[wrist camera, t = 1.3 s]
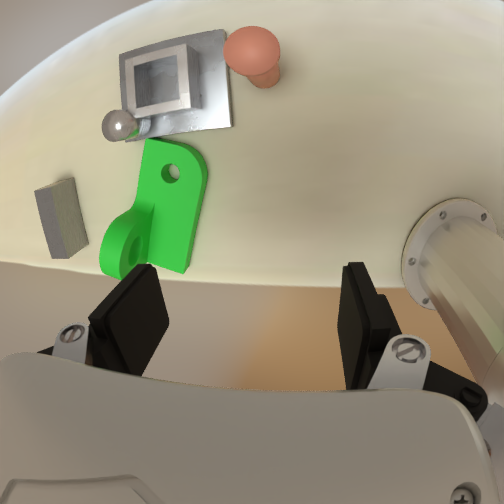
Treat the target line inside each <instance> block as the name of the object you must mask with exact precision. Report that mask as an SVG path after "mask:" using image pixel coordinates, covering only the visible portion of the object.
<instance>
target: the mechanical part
mask: <svg viewBox="0 0 504 504" xmlns="http://www.w3.org/2000/svg"><path fill="white" fill-rule="evenodd" d="M170 164H174V165H176V166H177V167H178V169H179V172H180V176H179V179H178V180H176V179H174V178H172V177H171V176H170V174H169V166H170ZM207 177H208V172H207V167H206V163H205V161H204V159H203V157H202V156H201V154H200V153H199V152H198V151H197V150H196V149H194V148H193V147H191V146H190V145H187V144H184V143H180V142H175V141H171V140H166V139H161V138H157V137H152V138H146V141H145V146H144V151H143V157H142V162H141V168H140V175H139V181H138V188H137V195H136V199H135V202H134V204H133V206H132V207H131V209H130V210H128V211H126V212H125V213H123V214H122V215H120V216H119V217H117V218H116V219H115V220H114V221H113V222H112V223H111V224H110V226H109V228H108V229H107V231H106V233H105V235H104V238H103V241H102V244H101V248H100V255H99V262H100V267H101V270H102V272H103V273H104V274H106V275H109V276H111V277H114V278H117V279H119V280H122V279H123V278H124V277H125V276H126V275H127V274H128V273H129V272H130V271H131V270H132V269H133V268H134V267H135V266H136V265H137V264H146V263H147V262H149V263H152V264H155V265H157V266H160V267H163V268H166V269H169V270H172V271H175V272H178V273H181V274H184V273H185V271H186V270H187V268H188V267H189V263H190V258H191V253H192V248H193V243H194V238H195V233H196V228H197V223H198V219H199V214H200V210H201V205H202V201H203V196H204V192H205V188H206V183H207Z"/></svg>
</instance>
